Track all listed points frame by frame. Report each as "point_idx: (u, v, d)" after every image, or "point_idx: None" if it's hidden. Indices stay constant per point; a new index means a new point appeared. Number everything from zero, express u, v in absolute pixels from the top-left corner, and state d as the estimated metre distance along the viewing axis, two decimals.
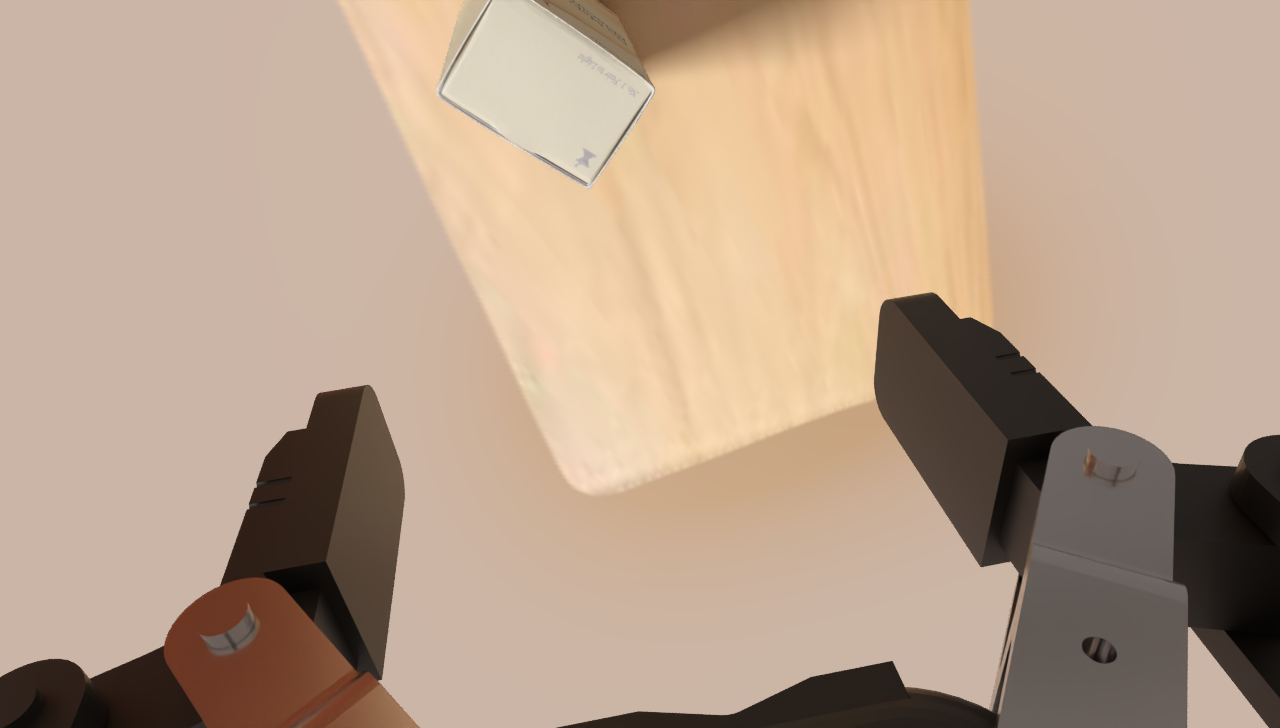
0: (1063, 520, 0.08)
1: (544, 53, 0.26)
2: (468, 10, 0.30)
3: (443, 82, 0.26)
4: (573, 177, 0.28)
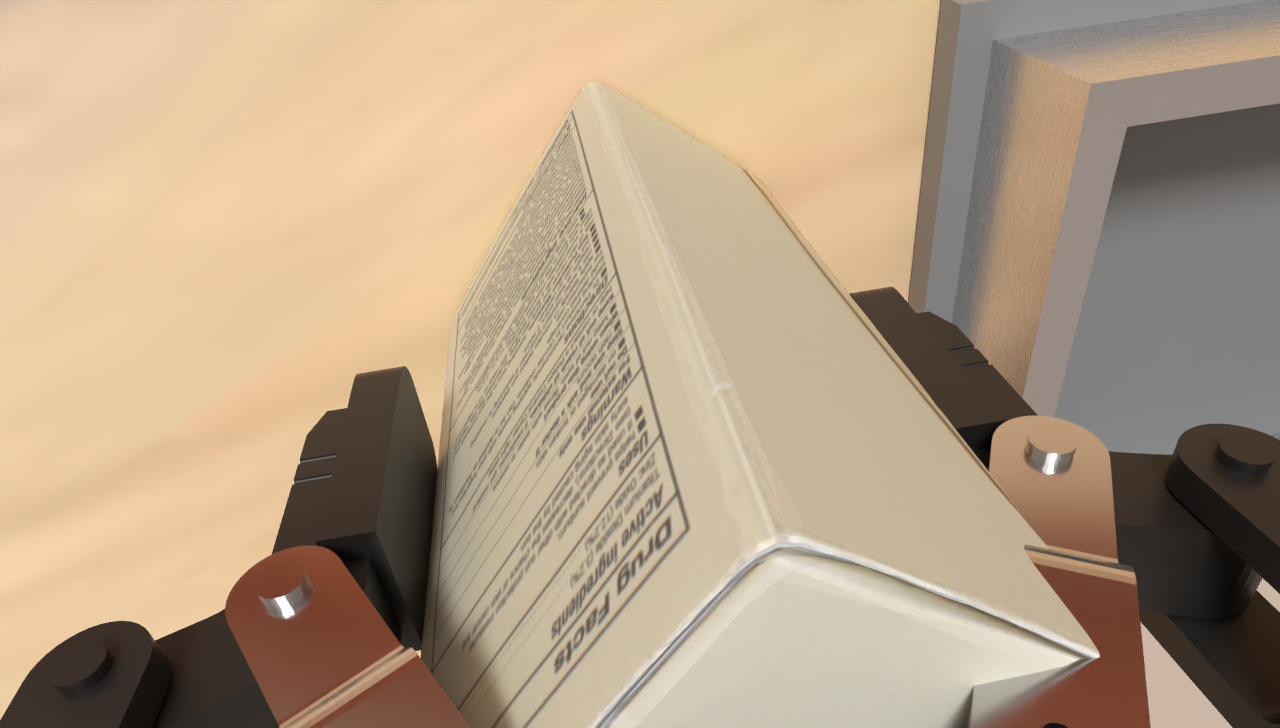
0: None
1: None
2: (751, 255, 0.11)
3: (819, 554, 0.05)
4: None
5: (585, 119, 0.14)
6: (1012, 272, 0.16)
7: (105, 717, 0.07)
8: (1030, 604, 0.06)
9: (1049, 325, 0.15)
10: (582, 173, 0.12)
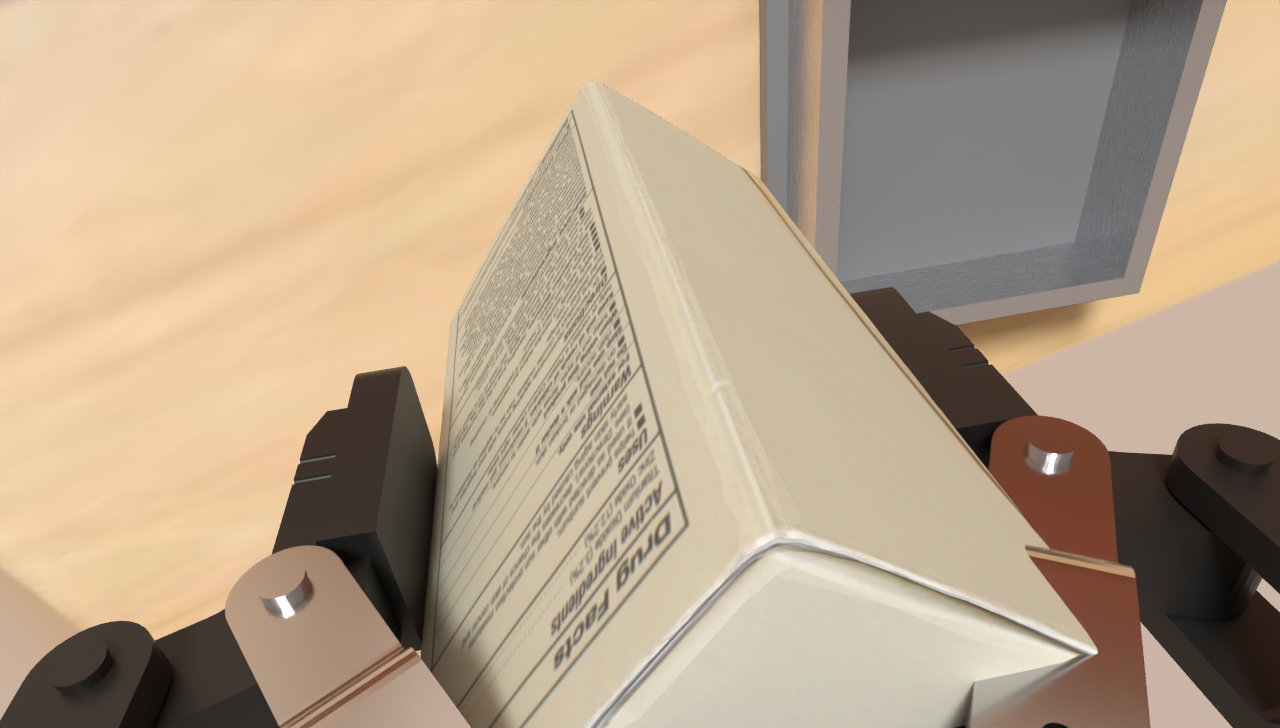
0: None
1: None
2: (750, 254, 0.11)
3: (817, 550, 0.05)
4: None
5: (585, 118, 0.14)
6: (807, 98, 0.25)
7: (105, 717, 0.07)
8: (1028, 600, 0.06)
9: (825, 127, 0.24)
10: (582, 173, 0.12)
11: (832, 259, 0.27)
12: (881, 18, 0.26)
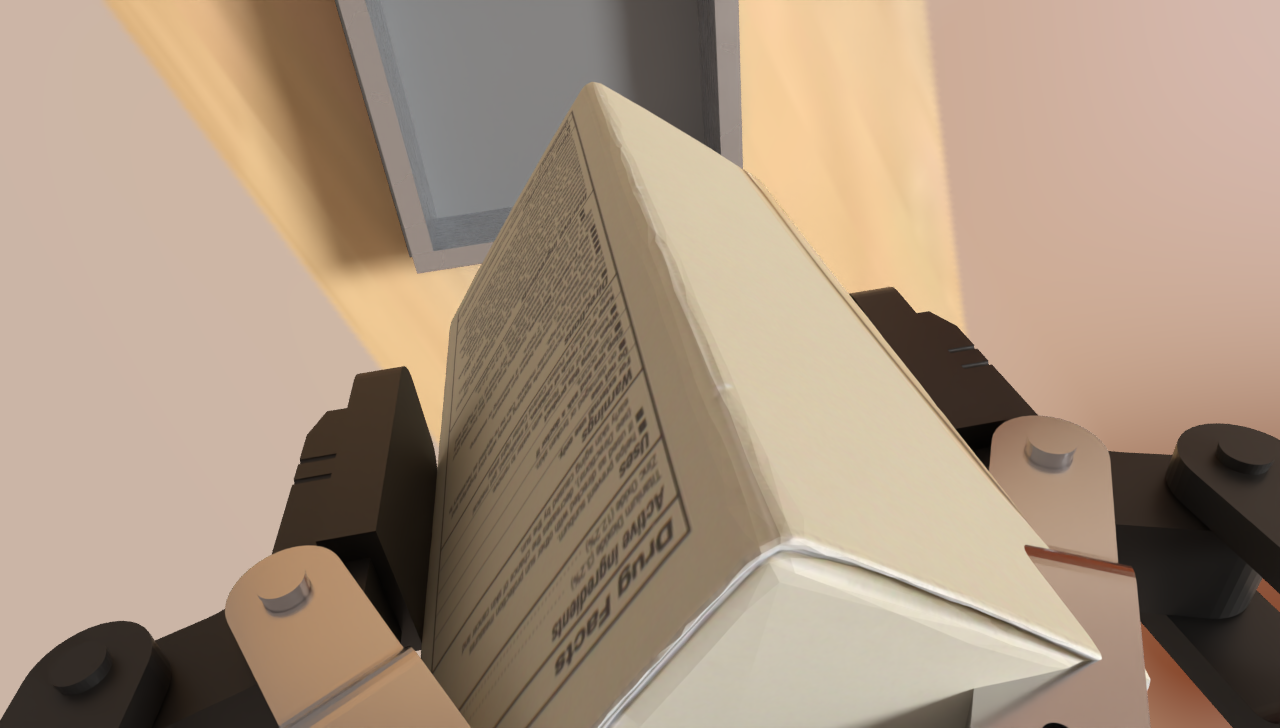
0: None
1: None
2: (751, 256, 0.10)
3: (821, 557, 0.05)
4: None
5: (585, 120, 0.14)
6: None
7: (105, 717, 0.07)
8: (1032, 606, 0.06)
9: None
10: (583, 174, 0.12)
11: None
12: None
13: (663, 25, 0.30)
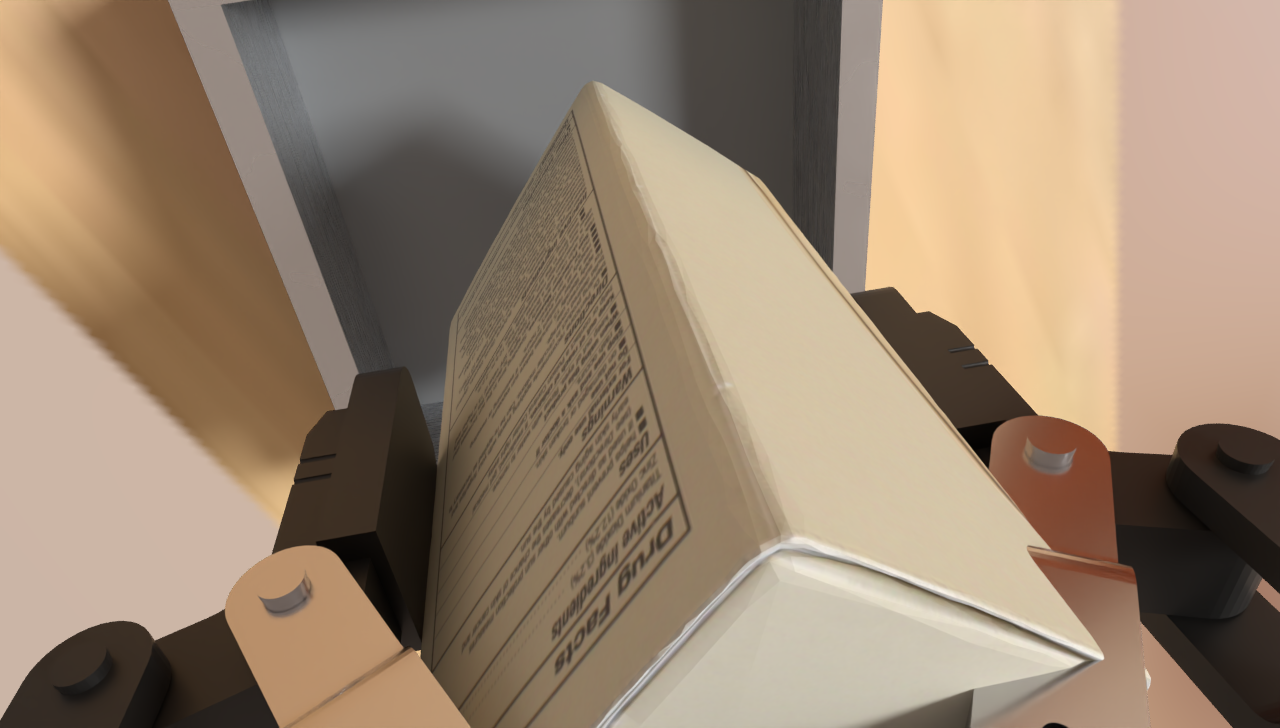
0: None
1: None
2: (751, 255, 0.10)
3: (822, 557, 0.05)
4: None
5: (585, 119, 0.14)
6: None
7: (105, 717, 0.07)
8: (1032, 605, 0.06)
9: None
10: (583, 174, 0.12)
11: None
12: (726, 27, 0.18)
13: (742, 141, 0.20)
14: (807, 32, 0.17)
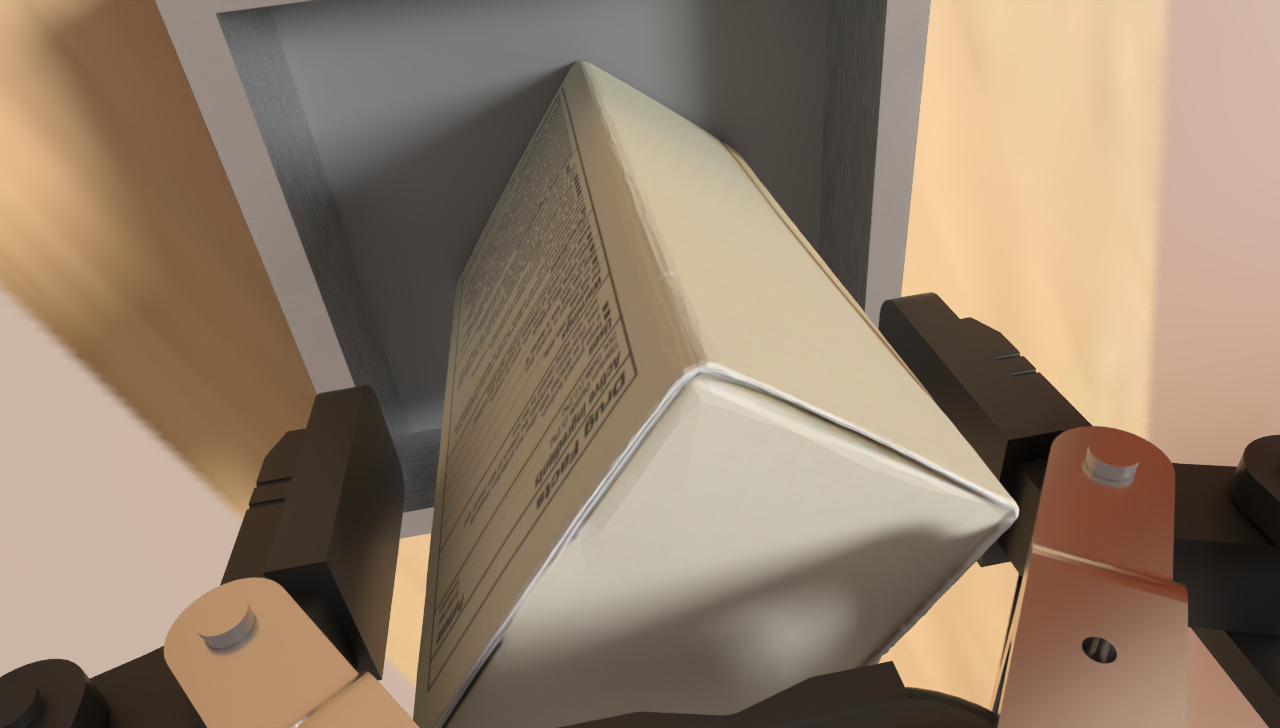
0: (1063, 520, 0.08)
1: (816, 624, 0.09)
2: (712, 198, 0.12)
3: (732, 381, 0.07)
4: None
5: (573, 92, 0.15)
6: None
7: None
8: (916, 443, 0.08)
9: None
10: (569, 137, 0.14)
11: None
12: (755, 38, 0.17)
13: (769, 158, 0.19)
14: (843, 44, 0.16)
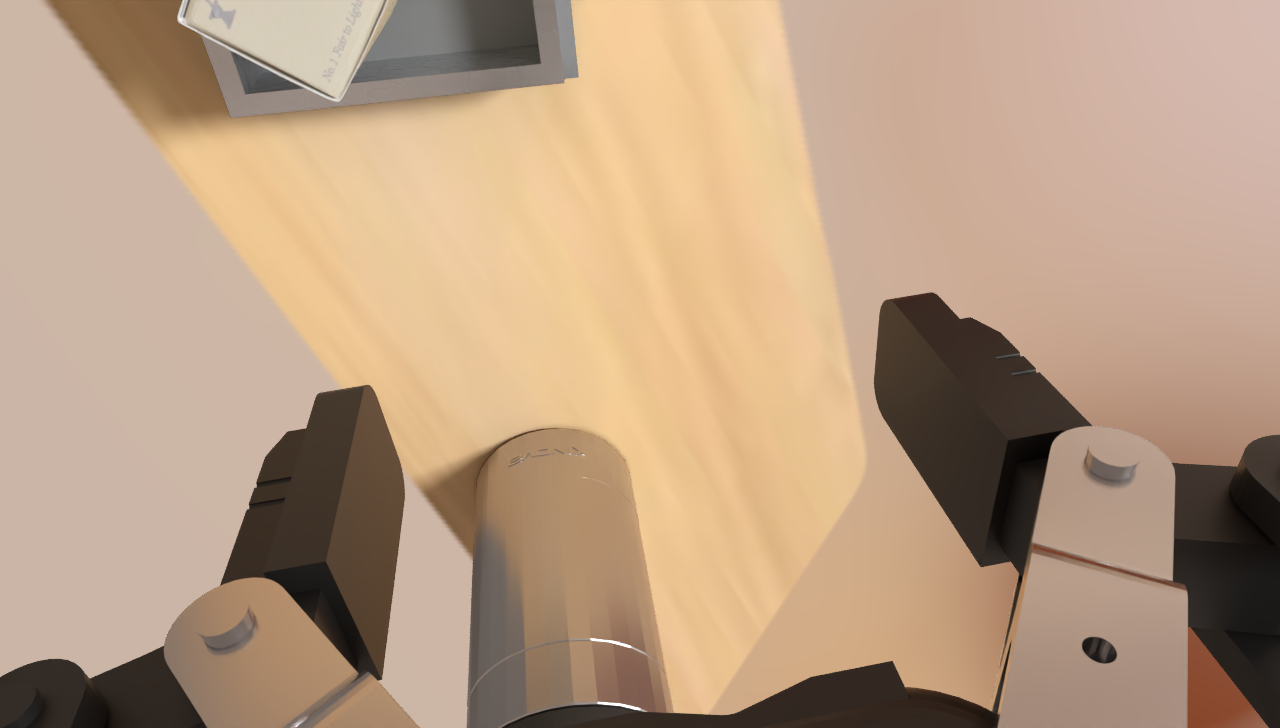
0: (1063, 520, 0.08)
1: None
2: None
3: None
4: None
5: None
6: None
7: None
8: None
9: None
10: None
11: None
12: None
13: None
14: None
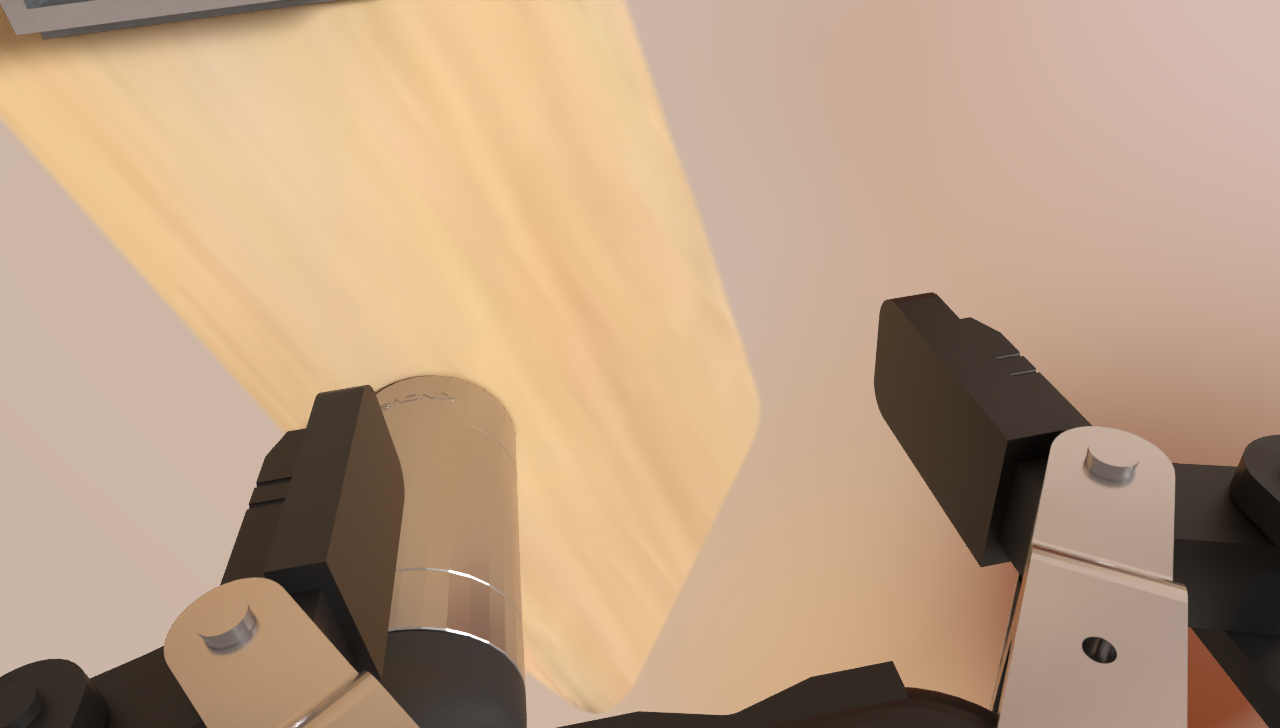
0: (1063, 520, 0.08)
1: None
2: None
3: None
4: None
5: None
6: None
7: None
8: None
9: None
10: None
11: None
12: None
13: None
14: None
